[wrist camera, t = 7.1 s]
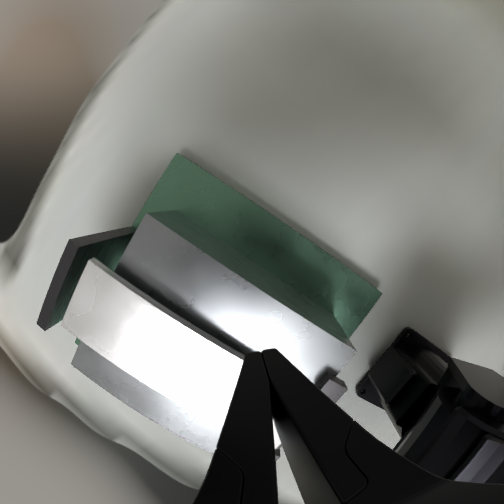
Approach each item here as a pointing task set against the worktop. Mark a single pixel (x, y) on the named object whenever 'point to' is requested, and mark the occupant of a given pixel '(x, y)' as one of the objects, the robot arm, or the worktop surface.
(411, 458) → the robot arm
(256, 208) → the green grey square block
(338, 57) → the worktop surface
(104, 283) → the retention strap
